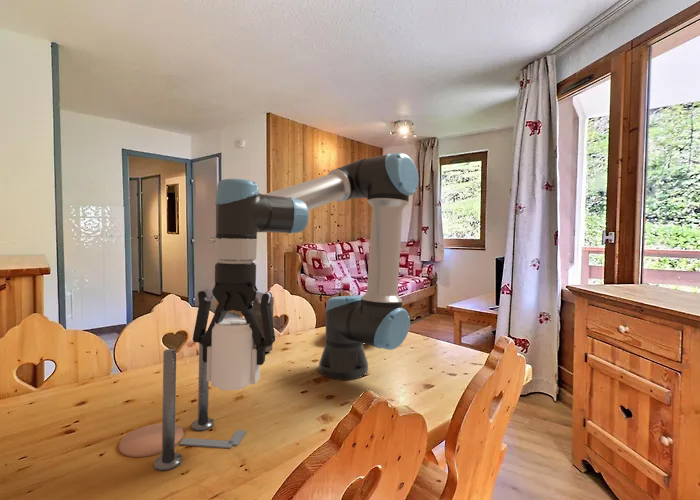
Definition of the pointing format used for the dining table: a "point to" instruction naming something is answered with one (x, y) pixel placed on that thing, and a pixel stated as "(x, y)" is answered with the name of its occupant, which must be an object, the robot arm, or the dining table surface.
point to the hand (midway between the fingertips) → (233, 379)
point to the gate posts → (169, 396)
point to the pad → (146, 441)
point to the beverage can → (231, 354)
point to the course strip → (215, 441)
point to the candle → (259, 317)
